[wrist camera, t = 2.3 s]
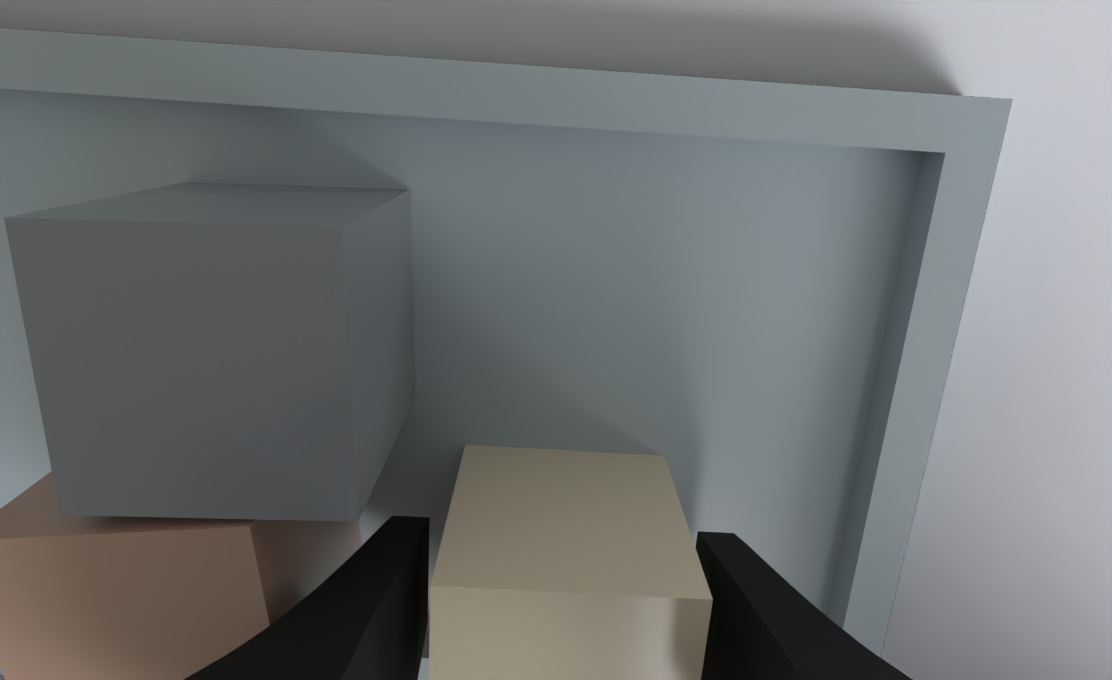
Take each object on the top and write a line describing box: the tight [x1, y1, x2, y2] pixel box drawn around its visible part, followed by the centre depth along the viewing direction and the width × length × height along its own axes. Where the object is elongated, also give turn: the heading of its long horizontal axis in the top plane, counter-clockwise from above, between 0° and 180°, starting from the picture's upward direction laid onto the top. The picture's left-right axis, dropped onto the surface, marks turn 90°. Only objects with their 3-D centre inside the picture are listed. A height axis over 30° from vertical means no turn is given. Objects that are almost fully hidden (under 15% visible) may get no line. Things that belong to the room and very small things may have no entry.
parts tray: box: [0, 28, 1013, 680], centre depth 13 cm, size 17×11×1 cm, turn 86°
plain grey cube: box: [4, 182, 415, 522], centre depth 10 cm, size 4×4×4 cm
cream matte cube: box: [429, 445, 713, 680], centre depth 12 cm, size 4×4×4 cm
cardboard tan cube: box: [0, 471, 363, 680], centre depth 11 cm, size 4×4×4 cm
